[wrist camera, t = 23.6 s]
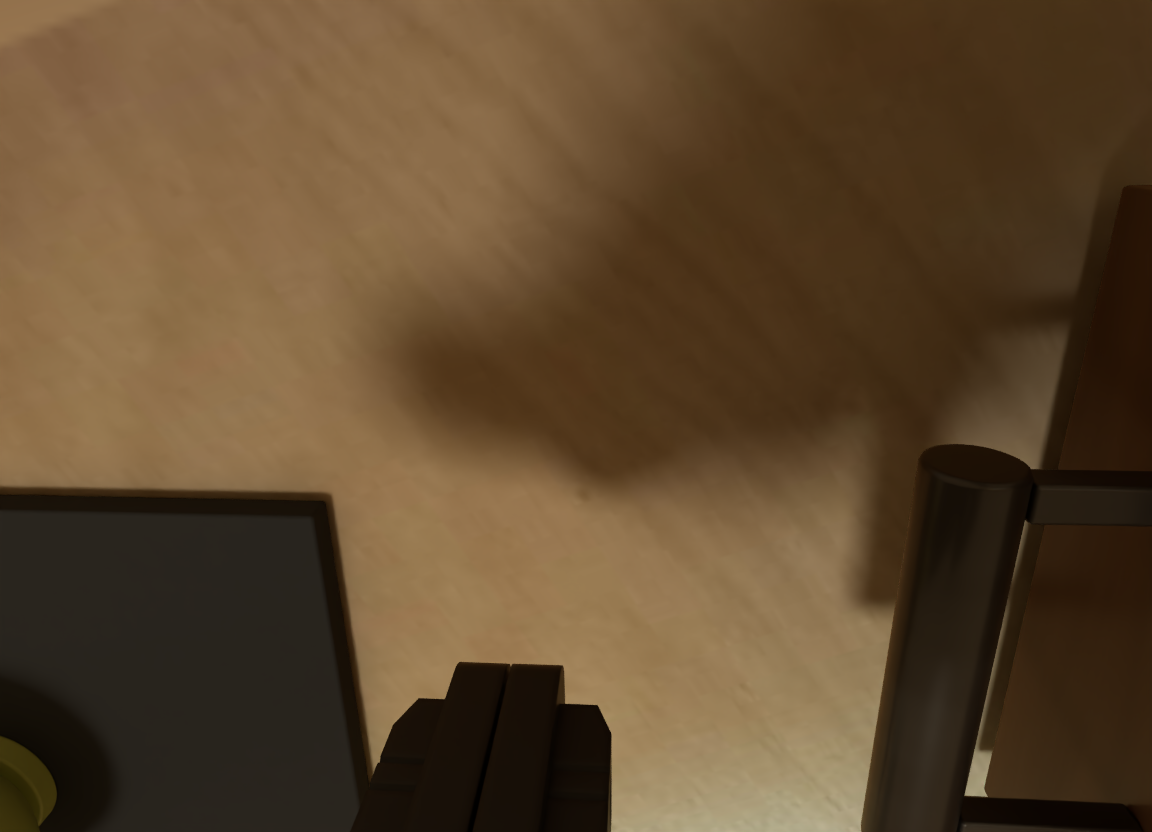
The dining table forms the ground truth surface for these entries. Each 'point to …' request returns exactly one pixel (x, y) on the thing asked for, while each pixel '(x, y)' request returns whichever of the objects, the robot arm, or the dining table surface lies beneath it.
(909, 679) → the drawer
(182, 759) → the mat
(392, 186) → the dining table surface
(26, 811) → the pear
